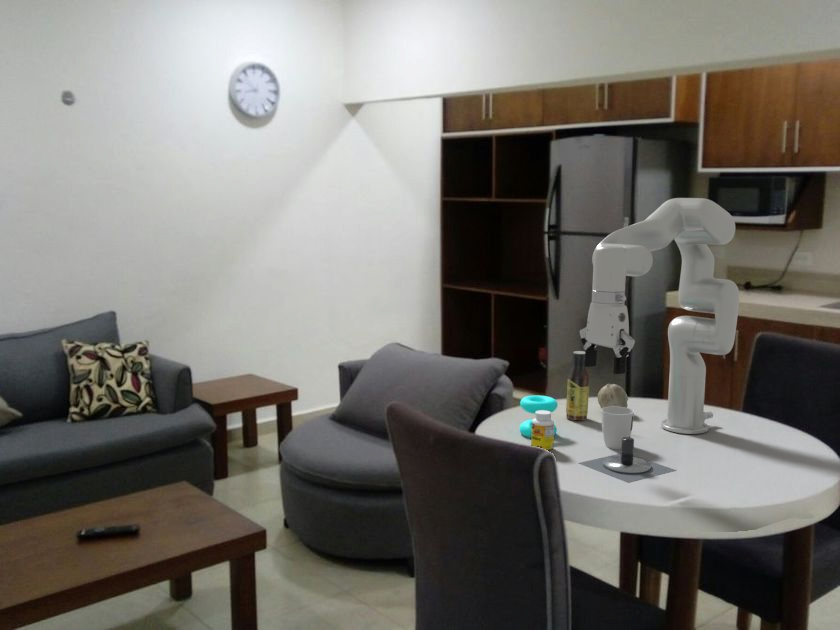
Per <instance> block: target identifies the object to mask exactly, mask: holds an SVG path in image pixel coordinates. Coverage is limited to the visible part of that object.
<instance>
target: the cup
mask: <svg viewBox="0 0 840 630" xmlns="http://www.w3.org/2000/svg"><path fill="white" fill-rule="evenodd" d="M600 409H601V408H600ZM634 415H635V411H634V410H633V409H632V408H629V407H627V408H625V407H604V408H602V409H601V429H602V437H603V440H604V445H605V447H606V448H609V449H612V450H621V447H622V438H623V437H630V438H631V435H632V430H633V426H634Z"/></svg>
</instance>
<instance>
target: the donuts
mask: <svg viewBox="0 0 840 630" xmlns="http://www.w3.org/2000/svg"><path fill="white" fill-rule="evenodd" d="M519 404H520V405H519V406H520V408H521V409H522V410H524V411H525V412H527V413H528V414H533V415H534V414H535V412H536V411H539V410H545V411H549V412H551V413H553V412H554V411H556V410H557V408H558V401H557V400H556V399H555V398H553V397H551V396H547V395H535V394H534V395H528V396H527V395H526V396H525V397H523V398H521V399H520V401H519ZM533 419H534V418H533ZM533 419H527V420H525V421H523V422H521V423H520V426H519V432H520V433H521V435H523V436H524V437H527V438H531V436H532V420H533ZM557 431H558V429H557V426H556V424H554V436H555V435H556V434H557Z"/></svg>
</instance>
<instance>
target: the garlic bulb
mask: <svg viewBox="0 0 840 630" xmlns="http://www.w3.org/2000/svg"><path fill="white" fill-rule="evenodd" d="M628 401H629V396H628V395H627V393H626V391H625V389H624V388H623V387H622V386H620V385H618V384H615V383H612V384H611V383H607V384H606V385H604V386H603V387H602V388H600V390H599V392H598V394H597V403H598V404H599V408H600V409H602V408H604V407H625V408H628Z"/></svg>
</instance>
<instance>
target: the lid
mask: <svg viewBox="0 0 840 630" xmlns="http://www.w3.org/2000/svg"><path fill="white" fill-rule="evenodd" d="M634 446H635V438H633V437H631V436H630V437H623V438H622V447H621V449H620V450H621V451H620V452H621V456H613V457H608V458H606V459H604V460H603V466H604V467H605V468H606V469H608V470H610V471H613V472H617V473H622V474H643V473H647V472H649V471H650V470H651V464H650V463H649V462H647V461H646V460H647V459H646V460H643V459H644V458H643V459H640V458H641V457H640V458H636V457H633V455H634V449H635V448H634Z"/></svg>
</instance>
